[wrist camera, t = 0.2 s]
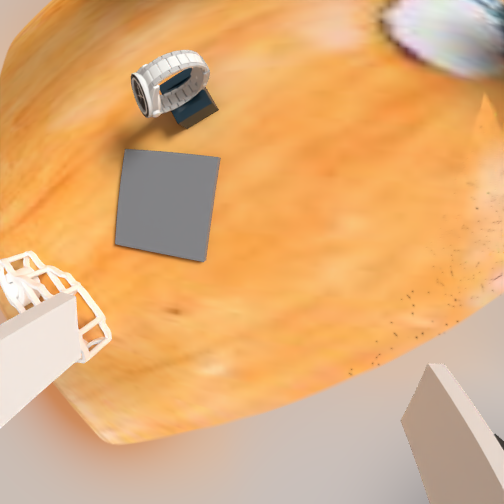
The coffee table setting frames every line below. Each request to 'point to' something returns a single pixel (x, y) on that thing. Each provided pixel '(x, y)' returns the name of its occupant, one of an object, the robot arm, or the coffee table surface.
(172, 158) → the mat
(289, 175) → the coffee table surface
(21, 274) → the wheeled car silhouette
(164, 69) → the watch
